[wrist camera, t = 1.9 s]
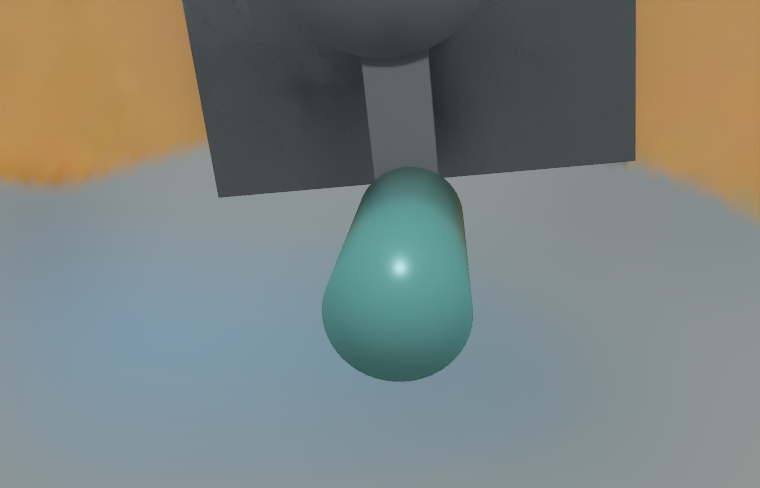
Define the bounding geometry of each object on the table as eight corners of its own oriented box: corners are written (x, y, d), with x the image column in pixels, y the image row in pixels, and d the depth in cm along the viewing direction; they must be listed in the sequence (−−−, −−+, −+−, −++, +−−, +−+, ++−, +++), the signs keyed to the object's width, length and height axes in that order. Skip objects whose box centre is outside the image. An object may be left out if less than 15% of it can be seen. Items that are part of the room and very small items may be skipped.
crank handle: (325, 252, 31) (262, 389, 20) (267, -161, 26) (140, -282, 15) (511, 237, 30) (553, 372, 19) (488, -193, 25) (525, -346, 14)
